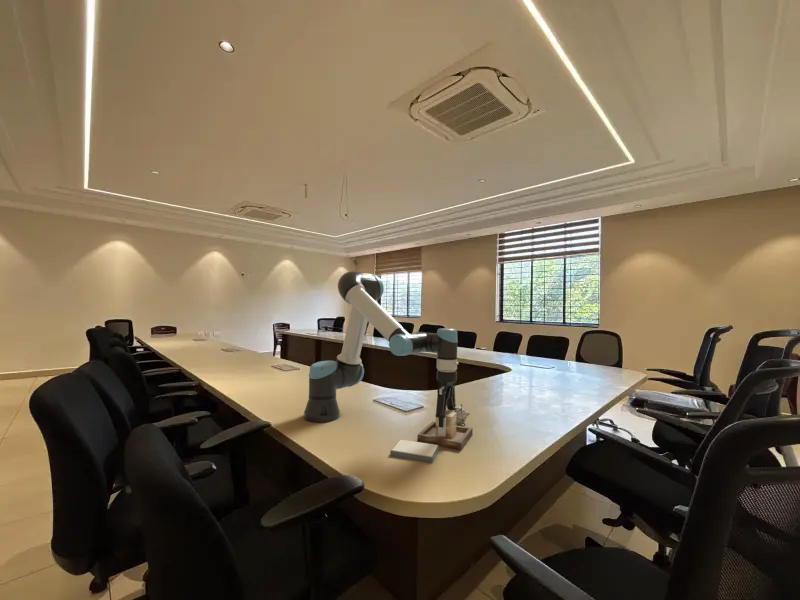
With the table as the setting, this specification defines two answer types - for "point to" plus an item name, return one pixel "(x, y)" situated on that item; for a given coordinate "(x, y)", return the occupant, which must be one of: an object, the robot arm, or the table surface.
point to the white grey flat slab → (415, 450)
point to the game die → (460, 415)
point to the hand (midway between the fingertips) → (445, 431)
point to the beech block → (448, 425)
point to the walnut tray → (456, 443)
